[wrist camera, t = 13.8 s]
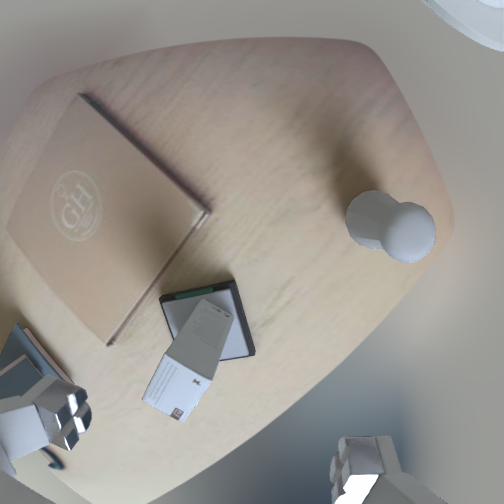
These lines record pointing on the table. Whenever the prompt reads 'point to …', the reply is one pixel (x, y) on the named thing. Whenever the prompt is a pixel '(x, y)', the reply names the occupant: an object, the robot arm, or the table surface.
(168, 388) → the cosmetic box
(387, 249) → the salt shaker
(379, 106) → the table surface
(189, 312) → the scale
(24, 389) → the desk lamp
